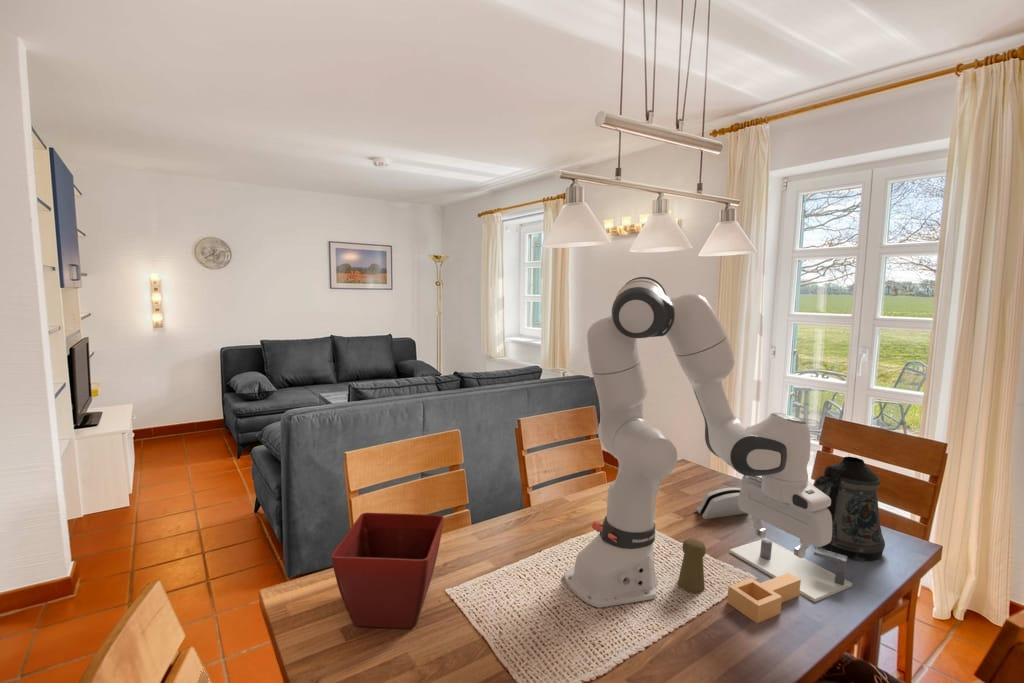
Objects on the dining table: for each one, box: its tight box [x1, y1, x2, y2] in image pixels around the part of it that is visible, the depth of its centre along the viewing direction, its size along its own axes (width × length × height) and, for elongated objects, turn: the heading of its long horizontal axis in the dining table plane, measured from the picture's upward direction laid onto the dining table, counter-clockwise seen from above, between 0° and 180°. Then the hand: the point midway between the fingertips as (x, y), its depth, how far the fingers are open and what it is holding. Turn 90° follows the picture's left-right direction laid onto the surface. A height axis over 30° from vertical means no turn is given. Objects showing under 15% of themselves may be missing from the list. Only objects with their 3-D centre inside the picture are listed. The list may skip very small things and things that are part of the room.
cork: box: [677, 538, 707, 594], centre depth 117 cm, size 6×6×11 cm
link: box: [726, 573, 801, 624], centre depth 112 cm, size 18×8×4 cm, turn 117°
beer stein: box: [812, 456, 886, 562], centre depth 135 cm, size 16×19×25 cm
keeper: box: [813, 546, 848, 586], centre depth 120 cm, size 7×3×7 cm, turn 52°
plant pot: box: [331, 512, 445, 629], centre depth 105 cm, size 19×19×17 cm
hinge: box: [694, 487, 747, 520], centre depth 154 cm, size 17×5×10 cm, turn 107°
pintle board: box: [729, 538, 853, 603], centre depth 125 cm, size 14×23×5 cm, turn 27°
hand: (779, 545), depth 111 cm, fingers open, 8 cm apart
